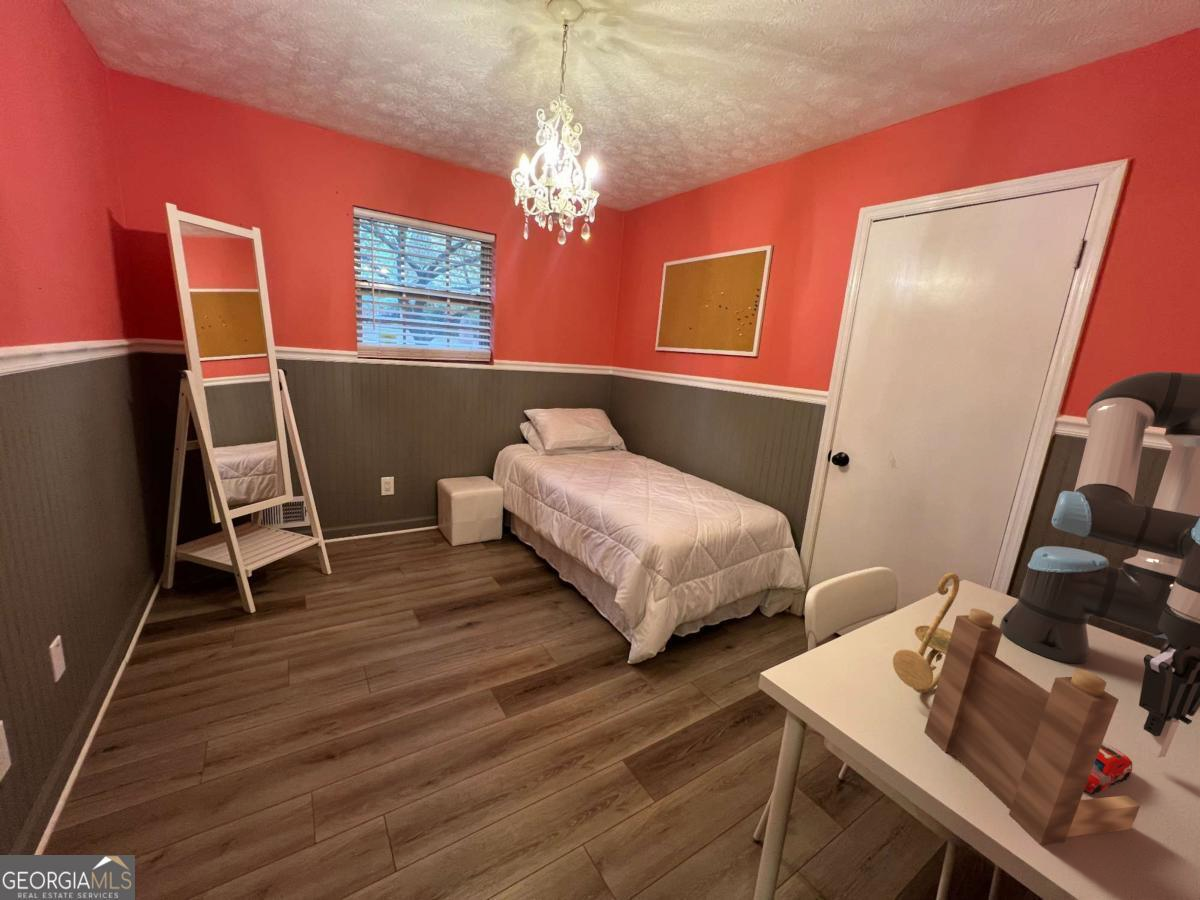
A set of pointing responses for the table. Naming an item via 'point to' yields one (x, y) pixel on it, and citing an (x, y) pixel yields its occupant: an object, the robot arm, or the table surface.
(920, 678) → the wall sconce
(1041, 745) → the headboard
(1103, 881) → the table surface
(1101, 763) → the race car
